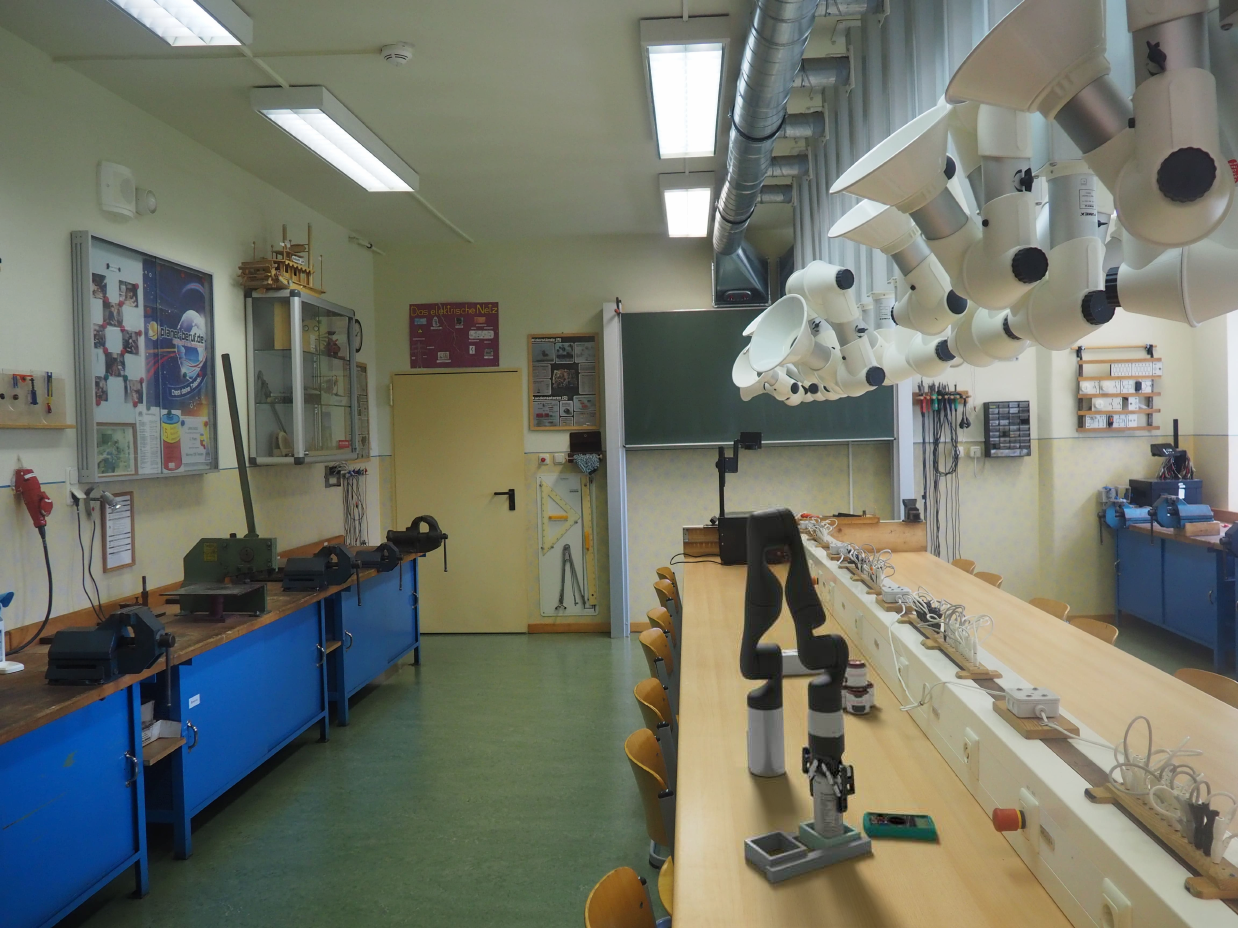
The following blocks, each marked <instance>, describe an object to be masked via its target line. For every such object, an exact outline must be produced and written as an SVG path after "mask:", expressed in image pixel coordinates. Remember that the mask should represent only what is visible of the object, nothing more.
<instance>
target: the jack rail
mask: <svg viewBox="0 0 1238 928" xmlns="http://www.w3.org/2000/svg"><path fill="white" fill-rule="evenodd" d="M843 832H844V835H840V836H837V837H834V838H831V839H825V838H823V837H822V836H820V835H819V834H817V833H816V832H814V819H811V820H808V821H805V822H801V823H798V834H797V833H796V832H795V831H790V832H787V833H785V832H784V831H783V830H781V829H777V830H773V831H771V832H768V833H767V832H766V833H763V834H760V835H756V836H753V837H749V838H746V839H744V840H743V845H744V847H743V849H744V857H745V858H746V859H747V860H748V861H750V862H751V863H752V864H754V865H755V866H756V867H757V868H758V869H759V870H761V871H762V872H764V874H766V879H767V880H768V881H769V882H770V883H772V884H776V883H778V882H779V883H780V882H781V881H784V880H788V879H791V878H794V877H796V876H800V875H803V874H806V873H809V872H812V871H816V870H818V869H821V868H825V867H827V866H831V865H834V864H836V863H840V862H843V861H847V860H849V859H852V858H855V857H858V856H861V855H865V854H867V853H871V852H872V851H873V850H872V849H873V848H872V847H873V846H872V839H871V838H869V837H867V835H862V832H861V831H860V830H859V829H857V828H855V827H854V826H853V825H850V824H849V823H847V822H846V821H844V820H843ZM800 842H801V843H800ZM802 843H803V844H804V845H805V846H804V845H803V844H802ZM806 846H807V847H808V848H810V849H811V850H813V851H812V852H809V853H808V848H807V847H806ZM778 849H779V850H781V851H782V852H783V853H780V854H777V855H773V856H770V855H769V854H768V852H773V851H776V850H778Z"/></svg>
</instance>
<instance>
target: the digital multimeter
mask: <svg viewBox="0 0 1238 928" xmlns="http://www.w3.org/2000/svg"><path fill="white" fill-rule="evenodd" d="M862 828H863V831H864V833H865V834H866V836H868V837H881V838H882V837H884V838H899V839H900V838H901V839H902V838H903V839H914V840H915V839H917V840H926V841H927V840H928V841H929V840H930V841H935V840H937V831H936V825H935V822H934V820H933V818H932V816H930V815H929V814H911V813H910V814H909V813H908V814H907V813H905V814H904V813H888V812H873V811H867V812H865V813H864V814H863V816H862Z"/></svg>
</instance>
